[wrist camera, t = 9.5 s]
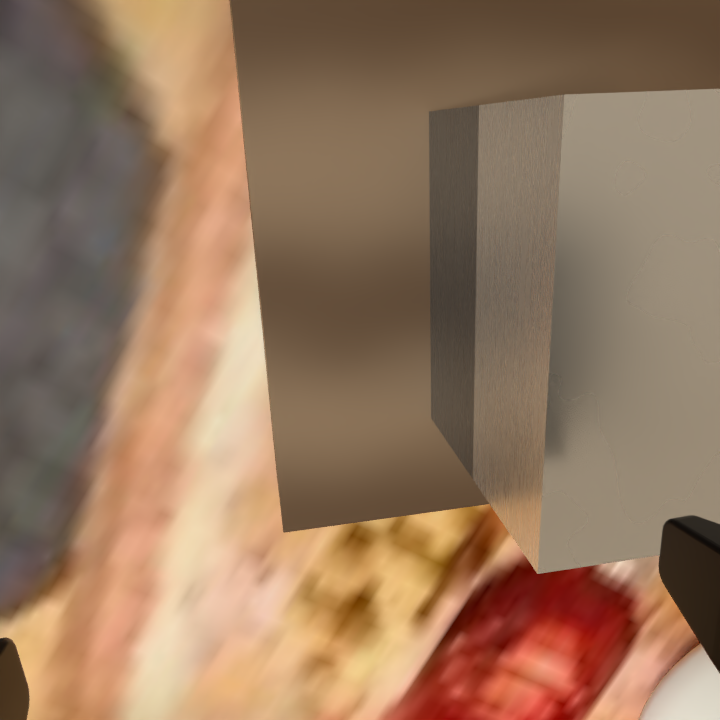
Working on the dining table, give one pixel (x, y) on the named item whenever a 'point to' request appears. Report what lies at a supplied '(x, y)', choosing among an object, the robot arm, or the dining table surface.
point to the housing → (580, 315)
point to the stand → (396, 207)
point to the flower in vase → (686, 691)
